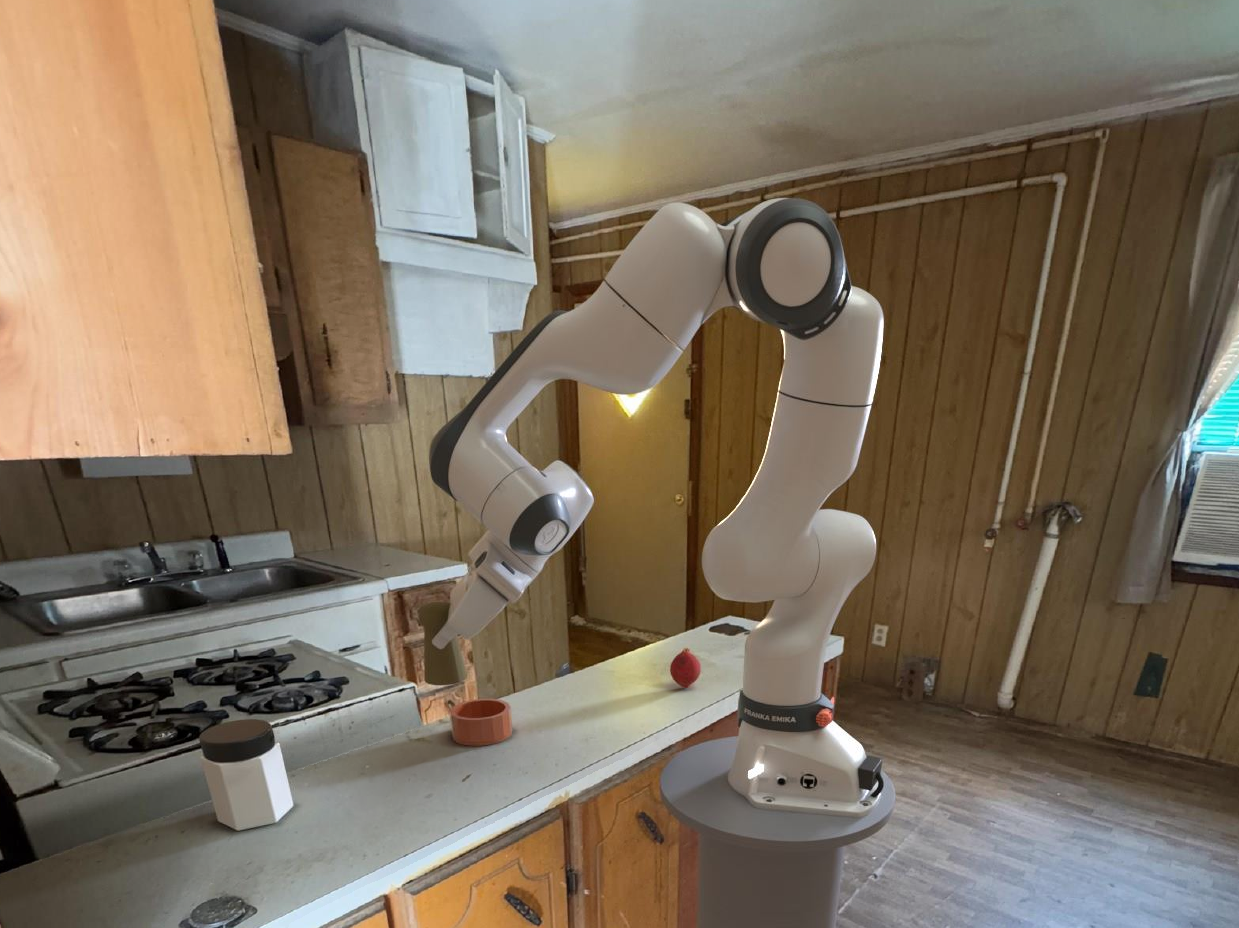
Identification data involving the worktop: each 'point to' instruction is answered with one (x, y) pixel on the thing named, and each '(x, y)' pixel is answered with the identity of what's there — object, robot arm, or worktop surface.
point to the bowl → (481, 722)
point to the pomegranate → (685, 668)
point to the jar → (245, 773)
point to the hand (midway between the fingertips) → (436, 640)
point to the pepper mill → (440, 662)
